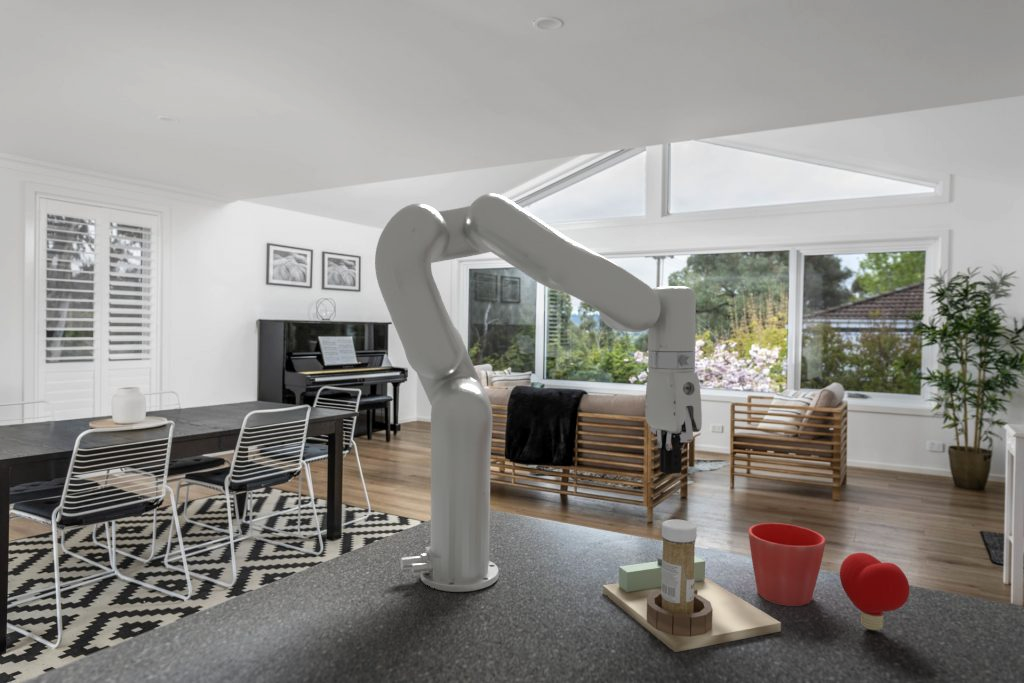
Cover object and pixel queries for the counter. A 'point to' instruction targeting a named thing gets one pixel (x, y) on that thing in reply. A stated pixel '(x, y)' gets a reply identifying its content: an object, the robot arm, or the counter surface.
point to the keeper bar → (651, 575)
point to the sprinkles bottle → (678, 566)
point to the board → (695, 616)
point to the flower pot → (785, 562)
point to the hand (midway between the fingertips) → (670, 472)
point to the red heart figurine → (873, 587)
